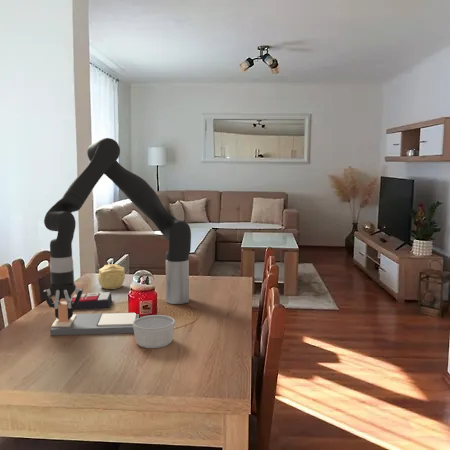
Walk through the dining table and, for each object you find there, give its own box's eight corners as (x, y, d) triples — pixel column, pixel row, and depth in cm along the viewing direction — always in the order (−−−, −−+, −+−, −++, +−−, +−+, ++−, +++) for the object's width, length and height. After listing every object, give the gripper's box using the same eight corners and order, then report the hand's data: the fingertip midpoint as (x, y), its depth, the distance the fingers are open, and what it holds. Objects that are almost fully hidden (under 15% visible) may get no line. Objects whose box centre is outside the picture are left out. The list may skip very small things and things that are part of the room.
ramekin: (140, 353, 153) (140, 330, 152) (127, 339, 165) (127, 318, 164) (181, 345, 159) (181, 324, 158) (166, 332, 171) (166, 312, 170)
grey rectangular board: (139, 317, 186) (139, 311, 186) (136, 332, 170) (136, 325, 170) (60, 319, 183) (60, 313, 183) (50, 335, 167) (50, 328, 167)
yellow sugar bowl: (100, 292, 220) (100, 267, 219) (96, 285, 231) (95, 262, 230) (127, 289, 225) (126, 265, 223) (121, 283, 235) (121, 260, 234)
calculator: (73, 293, 205) (111, 290, 207) (74, 303, 206) (111, 300, 208) (68, 301, 195) (108, 298, 196) (69, 312, 195) (109, 308, 197)
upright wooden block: (76, 315, 181) (75, 298, 181) (69, 326, 170) (69, 308, 169) (59, 315, 181) (58, 298, 180) (51, 327, 169) (50, 308, 168)
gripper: (85, 266, 177) (86, 314, 180) (43, 267, 176) (45, 315, 178) (81, 271, 170) (83, 321, 172) (37, 272, 168) (40, 322, 171)
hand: (64, 318), depth 175 cm, fingers closed on upright wooden block, 3 cm apart
